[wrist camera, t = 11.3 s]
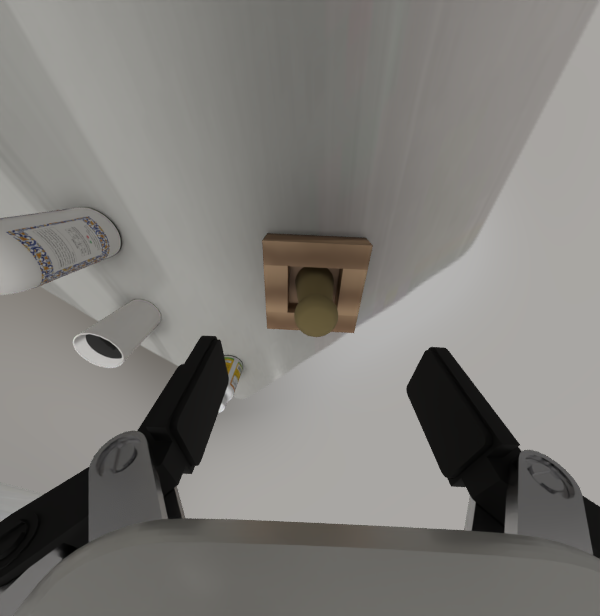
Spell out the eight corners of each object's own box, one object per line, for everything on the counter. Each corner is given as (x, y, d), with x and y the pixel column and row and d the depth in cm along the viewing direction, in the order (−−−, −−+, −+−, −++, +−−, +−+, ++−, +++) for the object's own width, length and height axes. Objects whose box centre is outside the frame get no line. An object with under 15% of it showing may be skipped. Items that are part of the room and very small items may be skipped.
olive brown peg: (340, 289, 34) (352, 332, 24) (306, 305, 36) (306, 351, 26) (322, 256, 31) (328, 291, 22) (287, 275, 33) (279, 315, 24)
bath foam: (73, 243, 32) (-185, 319, 15) (69, 197, 29) (-269, 228, 12) (122, 263, 34) (-66, 351, 17) (123, 220, 30) (-111, 278, 13)
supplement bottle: (212, 363, 45) (191, 406, 37) (226, 350, 43) (207, 392, 35) (233, 376, 47) (217, 419, 39) (248, 364, 45) (234, 406, 37)
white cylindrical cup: (127, 290, 36) (72, 325, 28) (167, 307, 38) (126, 345, 30) (123, 318, 40) (72, 357, 31) (160, 332, 41) (121, 373, 33)
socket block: (267, 233, 31) (262, 240, 27) (365, 237, 30) (372, 245, 27) (270, 314, 38) (267, 328, 35) (349, 318, 38) (354, 332, 34)
